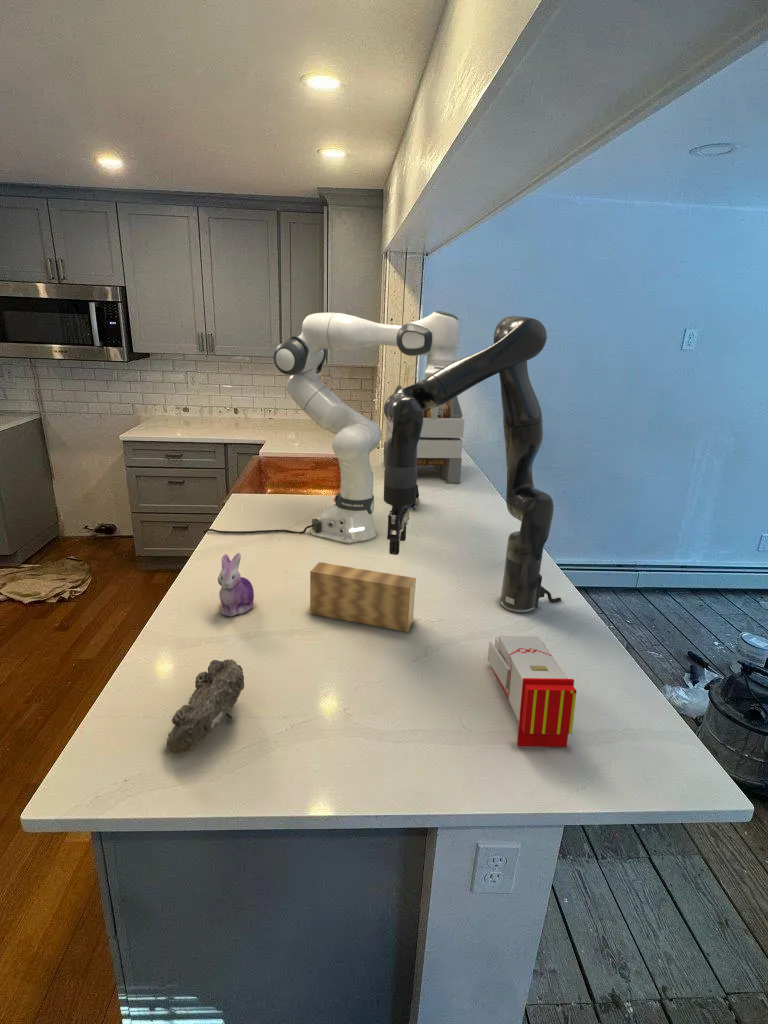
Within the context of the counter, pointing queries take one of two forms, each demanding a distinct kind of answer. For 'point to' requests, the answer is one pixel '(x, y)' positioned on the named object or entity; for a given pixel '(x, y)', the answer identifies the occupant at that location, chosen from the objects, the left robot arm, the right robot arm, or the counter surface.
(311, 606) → the box
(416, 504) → the figurine character
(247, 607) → the figurine
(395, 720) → the counter surface
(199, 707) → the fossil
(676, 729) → the counter surface
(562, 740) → the toy
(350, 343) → the left robot arm
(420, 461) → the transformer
